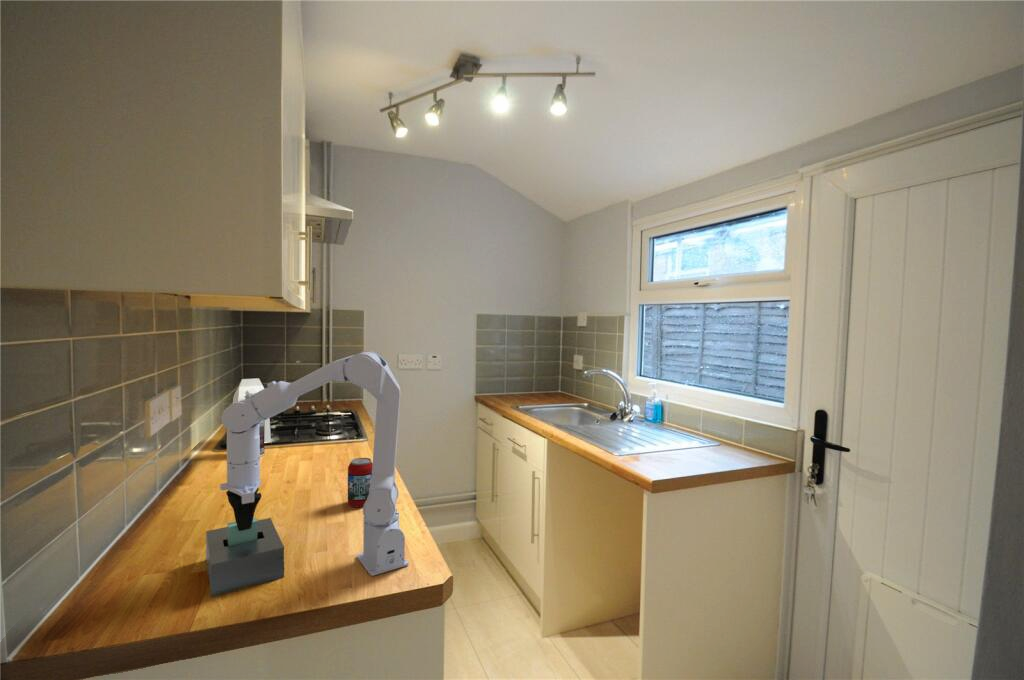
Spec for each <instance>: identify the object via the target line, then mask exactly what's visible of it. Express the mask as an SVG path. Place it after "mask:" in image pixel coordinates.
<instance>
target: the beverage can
mask: <svg viewBox="0 0 1024 680" xmlns="http://www.w3.org/2000/svg"><path fill="white" fill-rule="evenodd" d="M372 465H373V461H372V459H371V458H369V457H357V458H353V459H351V460H350V462H349V465H348V466H347V504H348V505H350V506H352V507H353V508H363V506H364V504H365V502H366V500H367V498H368V495H369V489H370V483H371V477H372Z"/></svg>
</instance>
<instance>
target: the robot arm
mask: <svg viewBox="0 0 1024 680" xmlns="http://www.w3.org/2000/svg"><path fill="white" fill-rule="evenodd" d="M346 381H349V382H351V383H352V384H354V385H356V386H358V387H360V388H363V389H365V390H366V391H367V392H368V393H369V394H370V395H372V396H373V397H374V398H375V399H376V411H375V427H374V436H373V437H374V439H373V440H374V442H373V452H372V453H373V455H372V463H373V465H372V477H371V483H370V489H369V495H368V498H367V500H366V502H365V504H364V506H363V507H362V515H363V534H362V535H363V538H362V539H363V545H362V546H363V547H362V548H363V549H362V550H363V551H362V552H360V553H357V554H356V558H357V559H358V560H359V562H360V563H361V564H362V565H363V567H364V569H365V570H366V571H367V572H368V574H369V575H370V576H372V577H373V576H377V575H380V574H383V573H386V572H389V571H390V572H391V571H393V570H396V569H399V568H402V567H406V566H408V565H409V564H410V562H409V561H408V560H407V559H406V558H405V554H406V553H405V548H406V547H405V546H406V544H405V543H406V539H405V534H404V532H403V530H402V529H401V527H400V513H399V511H398V510H397V508H396V505H397V502H398V501H397V500H398V498H399V489H398V487H397V485H396V463H397V461H396V460H397V447H398V446H397V445H398V434H399V433H398V432H399V421H400V420H399V419H400V407H401V395H402V394H401V392H402V390H401V386H400V385H399V383H398V381H397V379H396V378H395V375H394V374H393V372H392V370H391V369H390V367H389V364H388V362H387V361H386V360H385V359H384V358H383V357H382V356H380V355H379V354H378V353H377V352H374V351H372V350H364V351H363V350H362V351H360V352H359V353H357V354H352V355H349V356H347V357H343V358H340V359H337V360H334V361H332V362H329V363H327V364H325V365H323V366H322V367H319V368H318V369H316V370H314V371H312V372H310V373H308V374H307V375H305V376H302V377H300V378H299V379H297V380H295V381H293V382H287V381H283V380H280V381H278V382H276V380H273V381H271V382H269V383H267V384H266V386H267V387H264V389H263V390H261V391H259V392H257V393H255V394H253V395H252V394H251V393H250V394H247V395H245V399H244V400H241V401H239V402H235V403H233V402H232V403H230V404H229V405H228V406H227V407H226V408H225V409H224V410H223V412H222V413H221V419H220V420H221V423H222V425H223V427H224V428H225V429H226V482H225V483H221V484H220V485H219V490H220V491H225V490H226V496H227V500H228V503H229V504H230V506H231V507H232V509H233V514H234V520H235V522H236V523H237V527H238V530H239V531H243V530H247V529H251V526H252V522H253V518H255V517H254V515H255V512H256V509H257V506H258V505H259V502H260V500H261V498H262V493H261V492H259V487H260V486H261V484H262V480H261V479H262V478H261V464H260V462H261V461H260V460H261V457H260V436H259V423H260V422H261V421H264V420H267V419H269V418H271V419H272V418H273V417H275V416H277V415H279V414H281V413H283V412H285V411H287V410H289V409H291V408H293V407H295V405H296V404H297V400H298V398H299V397H300V396H302V395H305V394H307V393H309V392H311V391H313V390H315V389H317V388H320V387H321V386H324V385H326V384H328V383H331V382H339V383H345V382H346Z"/></svg>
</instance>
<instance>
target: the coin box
mask: <svg viewBox="0 0 1024 680" xmlns="http://www.w3.org/2000/svg"><path fill="white" fill-rule="evenodd" d="M205 532H206V533H205V541H206V542H205V544H206V545H205V553H206V554H205V555H206V556H205V559H206V560H207V561H206V567H207V568H208V569H207V575H209V576H208V580H209V581H208V583H210V584H209V591H211V592H210V598H213V597H217V596H218V597H219V596H222V595H225V594H227V593H231V592H235V590H236V591H239V589H240V590H243V589H246V588H245V587H247V588H249V586H250V587H254V586H258V585H260V584H264V582H265V583H268V582H271V581H275V580H279V579H283V578H285V546H284V545H283V542H282V540H281V538H280V537H281V536H280V535H279V534H278V531H277V529H276V527H275V525H274V523H273V521H272V518H271V517H269V518H263V519H259V520H258V519H257V540H253V541H249V542H244V543H240V544H236V545H231V546H228V526H226V527H221V528H216V529H212V530H206V531H205ZM253 585H254V586H253ZM242 588H243V589H242Z"/></svg>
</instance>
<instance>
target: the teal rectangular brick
mask: <svg viewBox="0 0 1024 680" xmlns="http://www.w3.org/2000/svg"><path fill="white" fill-rule="evenodd" d="M257 521H258V519H257V517H253V522H252V526H251V529H247V530H243V531H239V530H238V527H237V523H236V521H233V522H228V523H227V527H228V546H231V545H236V544H240V543H244V542H249V541H253V540H257Z"/></svg>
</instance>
